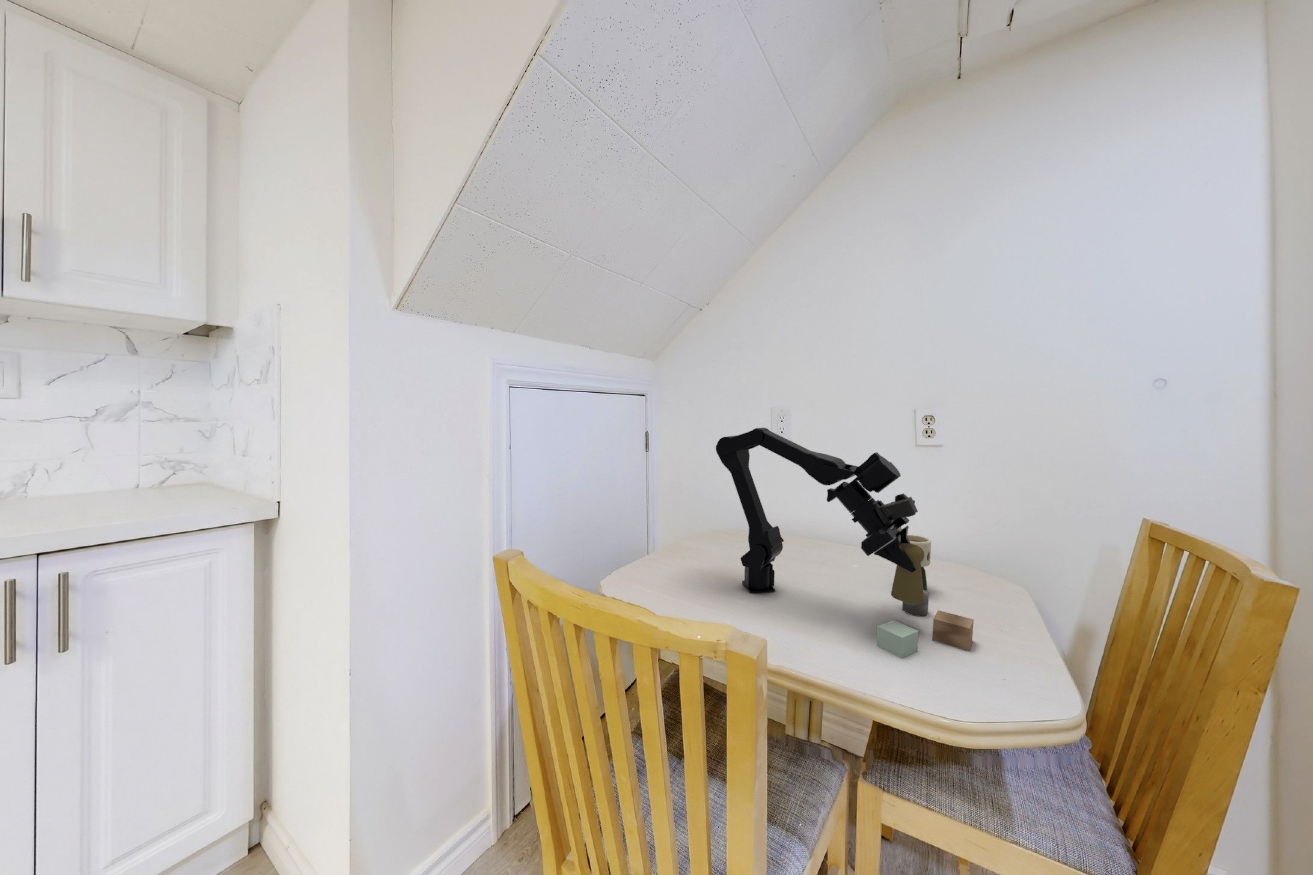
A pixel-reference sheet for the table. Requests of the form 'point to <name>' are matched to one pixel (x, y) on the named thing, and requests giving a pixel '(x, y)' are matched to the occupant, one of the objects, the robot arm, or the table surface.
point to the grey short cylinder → (917, 606)
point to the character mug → (926, 546)
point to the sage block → (897, 638)
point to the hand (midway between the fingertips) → (916, 567)
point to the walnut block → (953, 630)
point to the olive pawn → (909, 577)
